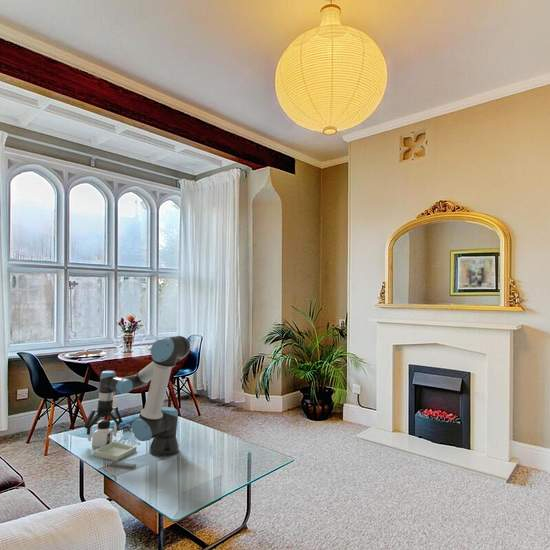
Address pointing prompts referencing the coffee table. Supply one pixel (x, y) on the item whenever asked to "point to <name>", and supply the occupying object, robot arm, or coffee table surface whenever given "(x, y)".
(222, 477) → the coffee table surface
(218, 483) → the coffee table surface
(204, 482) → the coffee table surface
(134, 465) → the puller tool
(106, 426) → the container
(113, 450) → the parts tray
